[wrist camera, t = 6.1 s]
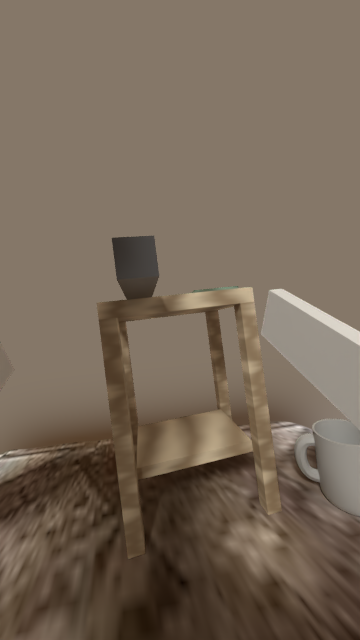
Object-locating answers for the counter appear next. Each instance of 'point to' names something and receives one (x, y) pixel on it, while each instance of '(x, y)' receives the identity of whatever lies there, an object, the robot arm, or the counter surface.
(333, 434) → the cup
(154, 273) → the grey square bar
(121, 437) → the stand
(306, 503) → the counter surface
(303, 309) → the robot arm
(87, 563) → the counter surface
